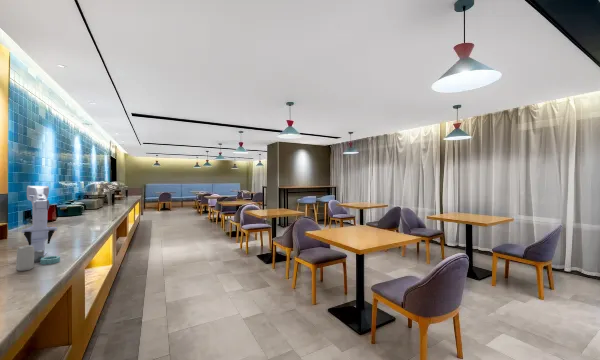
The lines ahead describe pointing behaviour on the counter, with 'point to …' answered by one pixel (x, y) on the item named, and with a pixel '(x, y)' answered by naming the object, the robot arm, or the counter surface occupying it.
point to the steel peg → (38, 255)
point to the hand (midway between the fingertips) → (39, 244)
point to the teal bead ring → (50, 260)
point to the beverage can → (25, 258)
